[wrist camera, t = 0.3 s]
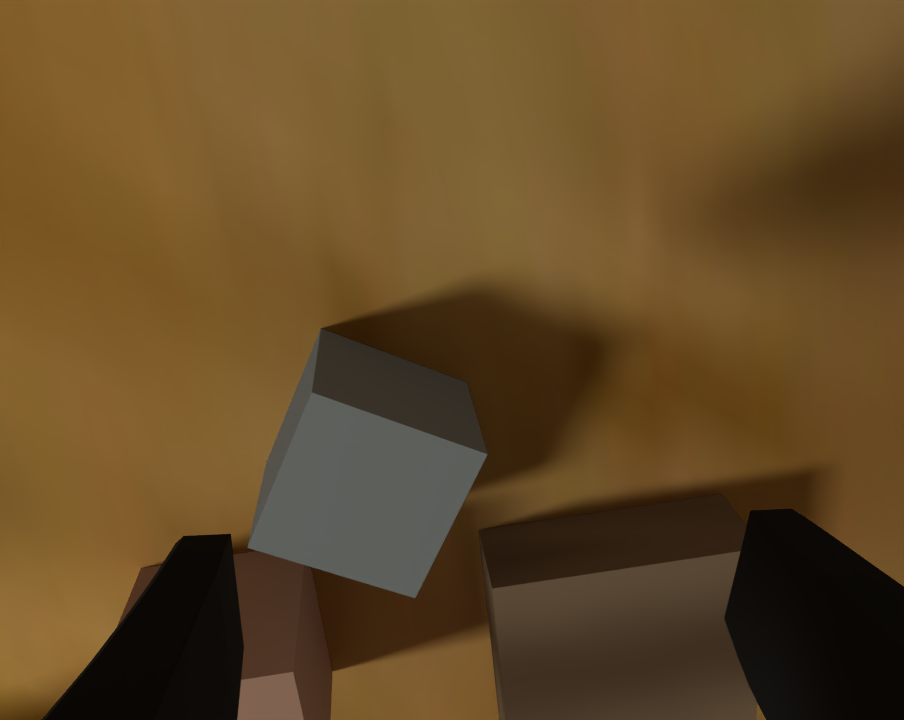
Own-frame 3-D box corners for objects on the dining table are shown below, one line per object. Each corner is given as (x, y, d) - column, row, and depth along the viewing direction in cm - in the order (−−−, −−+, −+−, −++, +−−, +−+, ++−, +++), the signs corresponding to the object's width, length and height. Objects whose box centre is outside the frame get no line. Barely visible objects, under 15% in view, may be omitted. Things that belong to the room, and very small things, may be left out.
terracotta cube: (332, 669, 25) (326, 817, 20) (179, 693, 24) (137, 849, 20) (306, 542, 23) (292, 671, 18) (141, 567, 23) (85, 704, 18)
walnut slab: (713, 677, 27) (754, 752, 24) (497, 711, 26) (513, 792, 23) (716, 488, 24) (763, 547, 21) (477, 523, 24) (492, 588, 21)
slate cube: (406, 505, 23) (415, 598, 19) (267, 460, 22) (247, 547, 18) (466, 381, 22) (487, 454, 18) (321, 327, 21) (311, 392, 17)
